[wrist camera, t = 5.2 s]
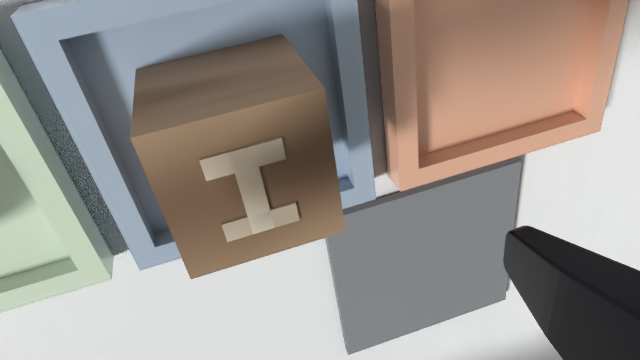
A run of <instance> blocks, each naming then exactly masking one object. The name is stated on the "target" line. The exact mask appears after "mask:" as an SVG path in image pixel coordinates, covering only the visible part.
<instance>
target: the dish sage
mask: <svg viewBox="0 0 640 360" xmlns="http://www.w3.org/2000/svg"><path fill="white" fill-rule="evenodd" d="M113 258H114V257H113V255H112V253H111V251H110V249H109V248H108V246H107V244H106V242H105V240H104V238H103V236H102V235H101V233H100V231H99V229H98V227H97V225H96V224H95V222H94V220H93V218H92V216H91V214H90V213H89V211H88V209H87V207H86V205H85V203H84V202H83V200H82V198H81V196H80V194H79V192H78V190H77V189H76V187H75V185H74V183H73V181H72V179H71V178H70V176H69V174H68V172H67V170H66V168H65V167H64V165H63V163H62V161H61V159H60V157H59V156H58V154H57V152H56V150H55V148H54V146H53V145H52V143H51V141H50V139H49V137H48V135H47V133H46V132H45V130H44V128H43V126H42V124H41V122H40V121H39V119H38V117H37V115H36V113H35V111H34V110H33V108H32V106H31V104H30V102H29V100H28V99H27V97H26V95H25V93H24V91H23V89H22V87H21V86H20V84H19V82H18V80H17V78H16V76H15V75H14V73H13V71H12V69H11V67H10V65H9V64H8V62H7V60H6V58H5V56H4V54H3V53H2V51H1V49H0V313H1V312H5V311H8V310H11V309H15V308H18V307H21V306H24V305H28V304H31V303H34V302H38V301H41V300H44V299H48V298H51V297H54V296H57V295H61V294H64V293H67V292H71V291H74V290H77V289H81V288H84V287H87V286H91V285H94V284H97V283H100V282H104V281H107V280H110V279H112V268H113Z"/></svg>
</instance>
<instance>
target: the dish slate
mask: <svg viewBox="0 0 640 360" xmlns="http://www.w3.org/2000/svg"><path fill="white" fill-rule="evenodd" d="M10 17H11V19H12V21H13V23H14V25H15V27H16V29H17V31H18V33H19V35H20V37H21V38H22V40H23V42H24V44H25V46H26V48H27V50H28V52H29V54H30V56H31V58H32V60H33V62H34V64H35V66H36V68H37V70H38V72H39V74H40V76H41V78H42V80H43V82H44V83H45V85H46V87H47V89H48V91H49V93H50V95H51V97H52V99H53V101H54V103H55V105H56V107H57V109H58V111H59V113H60V115H61V117H62V119H63V121H64V123H65V125H66V127H67V128H68V130H69V132H70V134H71V136H72V138H73V140H74V142H75V144H76V146H77V148H78V150H79V152H80V154H81V156H82V158H83V160H84V162H85V164H86V166H87V168H88V170H89V172H90V173H91V175H92V177H93V179H94V181H95V183H96V185H97V187H98V189H99V191H100V193H101V195H102V197H103V199H104V201H105V203H106V205H107V207H108V209H109V211H110V213H111V215H112V217H113V219H114V220H115V222H116V224H117V226H118V228H119V230H120V232H121V234H122V236H123V238H124V240H125V242H126V244H127V246H128V248H129V250H130V252H131V254H132V256H133V258H134V260H135V262H136V264H137V265H138V267H139V269H140V270H143V269H147V268H150V267H153V266H157V265H160V264H163V263H166V262H170V261H173V260H176V259H180V258H182V257H181V255H180V253H179V250H178V248H177V246H176V243H175V241H174V239H173V236H172V234H171V232H170V229H169V227H168V225H167V222H166V220H165V218H164V215H163V213H162V211H161V208H160V206H159V204H158V201H157V199H156V197H155V194H154V192H153V190H152V187H151V185H150V183H149V181H148V178H147V176H146V174H145V171H144V169H143V167H142V164H141V162H140V160H139V157H138V155H137V153H136V150H135V148H134V146H133V143H132V141H131V139H130V136H131V123H132V110H133V98H134V85H135V72H136V69H138V68H142V67H146V66H151V65H155V64H159V63H163V62H167V61H172V60H176V59H180V58H184V57H188V56H192V55H197V54H201V53H205V52H209V51H213V50H218V49H222V48H226V47H230V46H234V45H239V44H243V43H247V42H251V41H255V40H260V39H264V38H268V37H272V36H276V35H280V34H283V35H284V37H285V38H286V39H287V41H288V42H289V43H290V44H291V46H292V47H293V48H294V49H295V51H296V52H297V53H298V55H299V56H300V57H301V58H302V60H303V61H304V62H305V63H306V65H307V66H308V67H309V69H310V70H311V71H312V72H313V74H314V75H315V76H316V77H317V79H318V80H319V81H320V83H321V84H322V85H323V86H324V88H325V94H326V100H327V107H328V114H329V121H330V127H331V134H332V141H333V148H334V154H335V161H336V168H337V175H338V181H339V188H340V195H341V201H342V208H343V209H345V208H348V207H351V206H355V205H358V204H361V203H365V202H368V201H371V200H374V199H376V192H375V182H374V171H373V160H372V150H371V139H370V129H369V118H368V108H367V97H366V87H365V76H364V66H363V55H362V45H361V34H360V24H359V13H358V2H357V0H43V1H38V2H34V3H29V4H24V5H21V6H20V7H19V8H18V9H17V10H16V11H15V12H14V13H13V14H12V15H11V16H10Z"/></svg>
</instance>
